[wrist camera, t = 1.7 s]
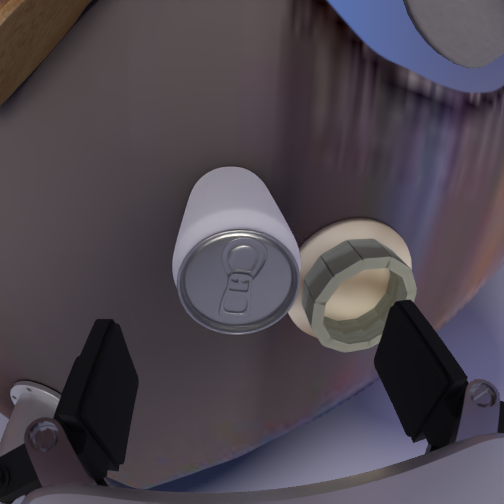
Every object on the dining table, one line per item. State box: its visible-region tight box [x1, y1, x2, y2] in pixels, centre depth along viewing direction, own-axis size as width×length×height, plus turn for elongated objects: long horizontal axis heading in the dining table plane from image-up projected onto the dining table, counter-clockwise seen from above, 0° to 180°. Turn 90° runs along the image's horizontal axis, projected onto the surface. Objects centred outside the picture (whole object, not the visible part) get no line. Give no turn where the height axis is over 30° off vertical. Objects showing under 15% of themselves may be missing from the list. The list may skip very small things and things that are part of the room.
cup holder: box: [288, 218, 417, 352], centre depth 27 cm, size 13×13×4 cm
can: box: [172, 167, 301, 335], centre depth 20 cm, size 6×6×12 cm
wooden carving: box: [0, 0, 92, 106], centre depth 12 cm, size 16×5×10 cm, turn 135°
